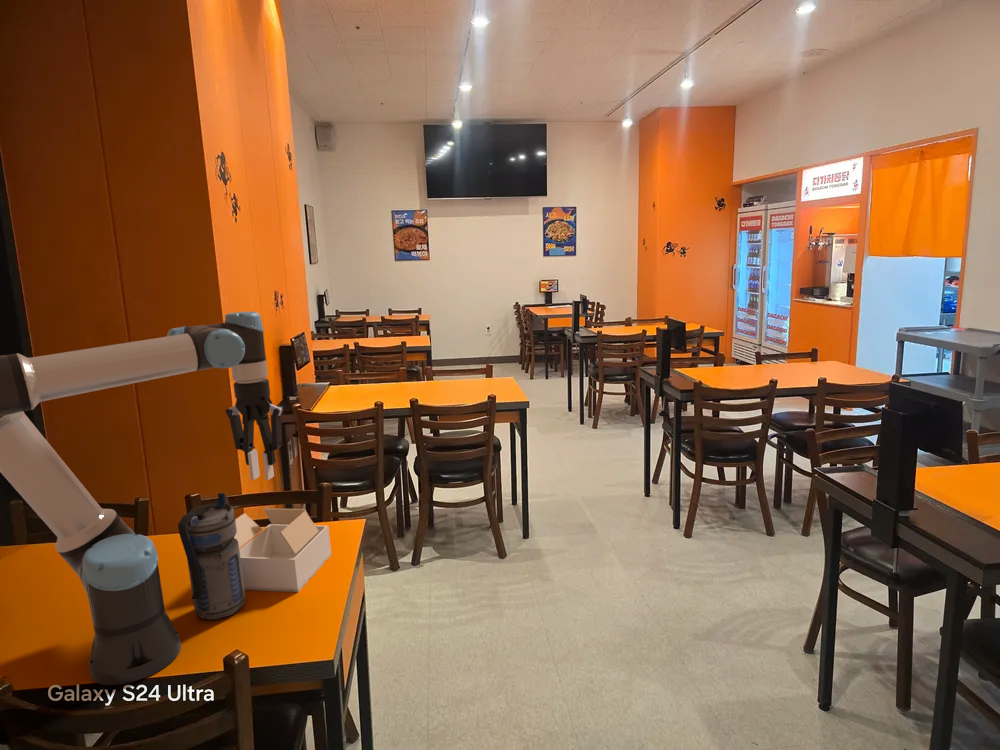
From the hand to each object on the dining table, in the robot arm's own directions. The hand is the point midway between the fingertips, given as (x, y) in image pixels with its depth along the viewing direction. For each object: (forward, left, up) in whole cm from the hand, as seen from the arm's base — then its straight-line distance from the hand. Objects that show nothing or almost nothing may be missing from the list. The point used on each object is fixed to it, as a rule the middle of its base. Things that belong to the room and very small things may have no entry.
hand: (262, 477), depth 145 cm
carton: (+2, 0, -25) cm, 25 cm away
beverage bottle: (-16, +4, -25) cm, 30 cm away
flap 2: (0, -8, -13) cm, 16 cm away
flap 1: (+8, -1, -13) cm, 16 cm away
